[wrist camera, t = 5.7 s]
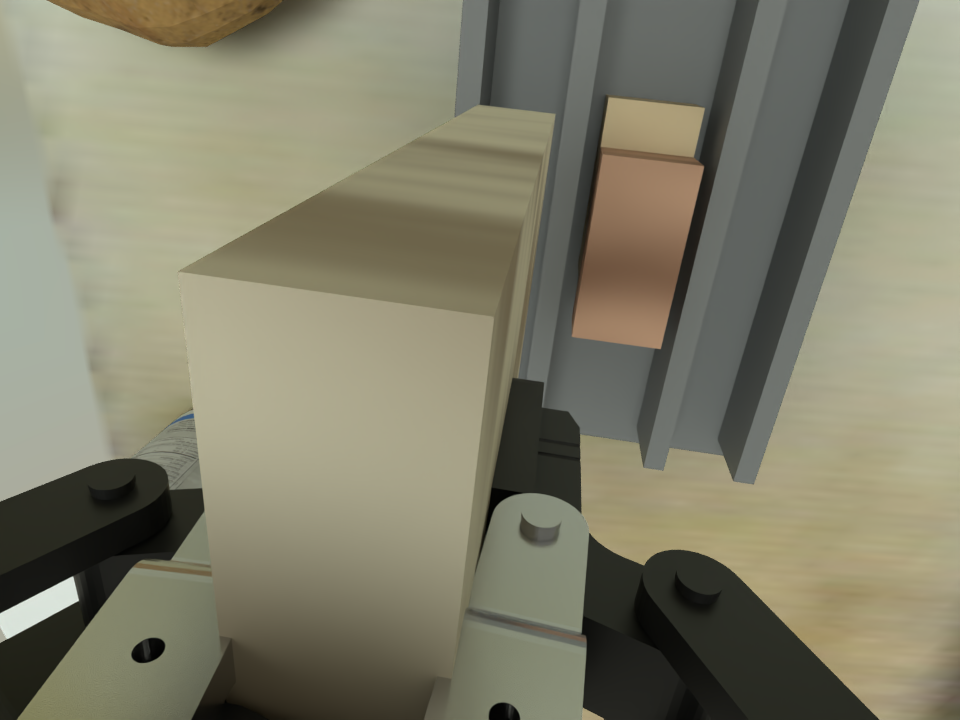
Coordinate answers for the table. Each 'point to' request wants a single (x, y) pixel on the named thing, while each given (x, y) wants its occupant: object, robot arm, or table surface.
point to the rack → (720, 201)
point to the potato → (173, 17)
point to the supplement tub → (182, 466)
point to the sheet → (363, 415)
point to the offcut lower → (646, 131)
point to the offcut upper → (634, 245)
